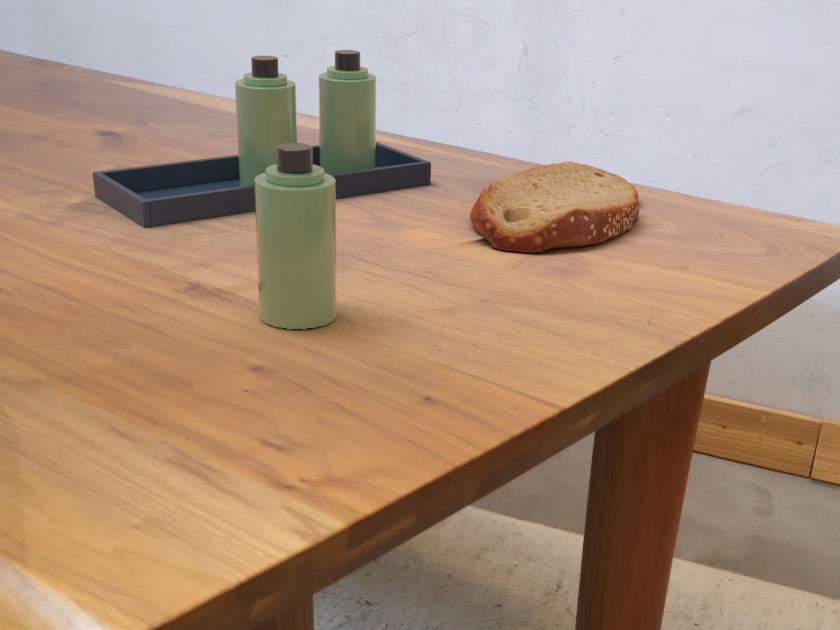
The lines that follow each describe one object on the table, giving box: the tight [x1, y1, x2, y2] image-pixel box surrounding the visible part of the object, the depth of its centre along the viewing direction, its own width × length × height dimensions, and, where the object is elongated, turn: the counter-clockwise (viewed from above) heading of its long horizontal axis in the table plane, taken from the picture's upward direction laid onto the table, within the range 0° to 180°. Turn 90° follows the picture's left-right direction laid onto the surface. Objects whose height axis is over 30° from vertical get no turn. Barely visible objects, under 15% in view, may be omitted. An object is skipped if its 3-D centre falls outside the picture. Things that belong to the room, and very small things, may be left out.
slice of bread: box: [469, 161, 640, 254], centre depth 97 cm, size 18×18×4 cm
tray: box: [92, 141, 432, 229], centre depth 99 cm, size 27×10×3 cm, turn 126°
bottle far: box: [318, 49, 377, 174], centre depth 101 cm, size 5×5×11 cm
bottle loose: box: [254, 142, 338, 330], centre depth 73 cm, size 5×5×11 cm
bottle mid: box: [234, 55, 298, 187], centre depth 97 cm, size 5×5×11 cm
